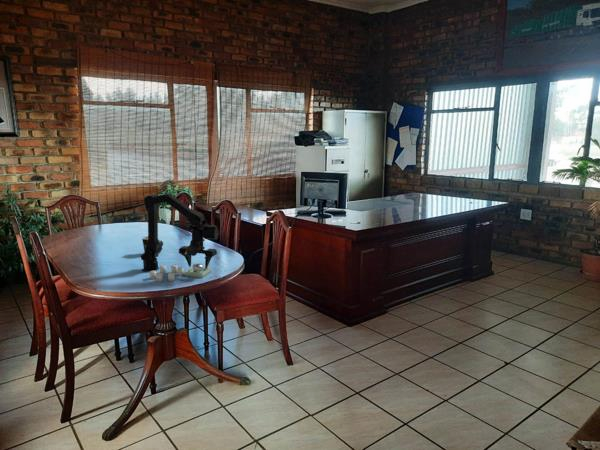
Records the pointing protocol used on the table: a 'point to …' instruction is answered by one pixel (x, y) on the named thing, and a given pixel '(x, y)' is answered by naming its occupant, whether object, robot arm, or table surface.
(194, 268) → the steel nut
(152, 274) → the nylon spacers
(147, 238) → the coffee mug
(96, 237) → the table surface
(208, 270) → the parts tray
